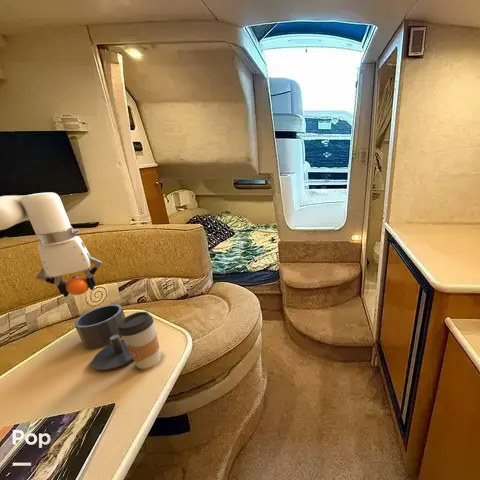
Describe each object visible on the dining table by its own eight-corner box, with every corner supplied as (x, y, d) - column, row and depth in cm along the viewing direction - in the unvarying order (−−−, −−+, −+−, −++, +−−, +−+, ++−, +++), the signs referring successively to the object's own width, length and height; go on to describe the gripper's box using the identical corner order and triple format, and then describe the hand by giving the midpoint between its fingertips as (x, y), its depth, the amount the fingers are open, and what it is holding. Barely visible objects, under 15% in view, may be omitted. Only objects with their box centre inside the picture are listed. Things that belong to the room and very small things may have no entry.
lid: (95, 380, 74) (87, 361, 72) (91, 355, 84) (83, 338, 81) (151, 353, 83) (145, 336, 81) (141, 333, 92) (135, 317, 90)
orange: (64, 300, 80) (56, 282, 78) (76, 290, 85) (69, 273, 83) (86, 296, 81) (78, 279, 79) (96, 287, 86) (89, 271, 84)
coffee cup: (126, 368, 78) (108, 326, 72) (151, 348, 85) (137, 308, 80) (146, 375, 75) (130, 331, 70) (171, 354, 82) (158, 313, 77)
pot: (85, 355, 84) (75, 332, 81) (82, 336, 93) (73, 316, 90) (132, 334, 92) (124, 314, 89) (125, 319, 101) (118, 300, 98)
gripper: (96, 227, 84) (114, 278, 90) (19, 240, 75) (46, 295, 82) (92, 232, 78) (113, 287, 84) (9, 247, 69) (39, 306, 76)
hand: (80, 290), depth 83 cm, fingers closed on orange, 5 cm apart
